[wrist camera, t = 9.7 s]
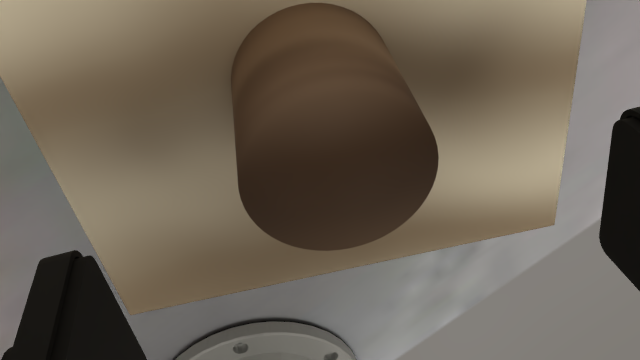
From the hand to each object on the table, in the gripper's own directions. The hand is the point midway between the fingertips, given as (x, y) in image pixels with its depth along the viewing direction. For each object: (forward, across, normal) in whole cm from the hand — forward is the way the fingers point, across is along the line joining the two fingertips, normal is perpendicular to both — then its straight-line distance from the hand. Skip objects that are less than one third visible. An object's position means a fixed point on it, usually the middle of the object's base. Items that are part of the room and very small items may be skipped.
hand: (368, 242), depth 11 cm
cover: (+6, 0, -1) cm, 6 cm away
